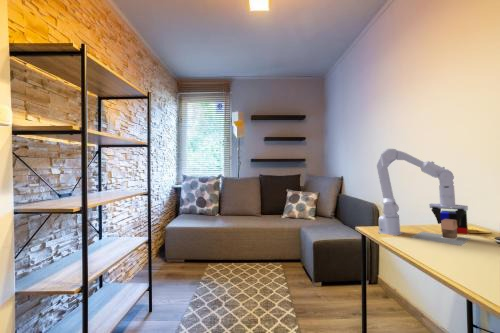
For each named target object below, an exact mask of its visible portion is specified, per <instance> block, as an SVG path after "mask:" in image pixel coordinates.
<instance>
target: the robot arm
mask: <svg viewBox="0 0 500 333" xmlns="http://www.w3.org/2000/svg"><path fill="white" fill-rule="evenodd" d="M394 161H405V162H407V163H409V164H412V165H414V166H416V167H418V168H420V170H421V172H423V173H424V174H427V175H428V176H430V177H432V178H436V179H438V181H439V185H438V189H439V190H438V191H439V193H438V194H439V203H429V204H428V206H429V209H431V212H432V213H433V215H434V217H435V220H436V222H437V224H438V225H439V224H440V225H441V211H442V210H457V211H456V215H457V226H460V225H461V221H462V217H463V215H464V213H465V211H468V210H469V206H468V205H462V204H456V195H455V194H456V193H455V192H456V191H455V185H454V184H455V183H454V182H455V181H454V178H455V175H454V174H453V172H452V171H451V170H450V169H447V168H446V167H445V166H440V165H439V164H435V162H434V161H433V160H432V161H429V160H427V161H423V160H422V159H419V158H417V157H415V156H413V155H411V154H409V153H407V152H406V151H405V152H404V151H401V150H397V149H396V148H387V149H385V150H384V151H383V152H381V154H380V156H379V159H378V161H377V164H376V169H377V173H378V174H377V176H378V179H379V184H380V188H381V189H380V190H381V192H382V198H383V199H382V200H383V201H382V203H383V208H382V212H383V215H380V216H379V217H378V234H383V235H390V236H395V237H396V236H399V235H402V234H404V231H401V223H400V221H401V220H400V215H399V213H398V212H399V208H400V207H399V204H397V202H396V199H395V196H394V193H393V192H394V191H393V188H392V187H393V186H392V183H391V178H390V173H389V169H388V167H389V166H390V165H391V164H392V163H393V162H394Z"/></svg>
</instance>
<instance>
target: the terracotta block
mask: <svg viewBox="0 0 500 333" xmlns="http://www.w3.org/2000/svg"><path fill="white" fill-rule="evenodd" d="M441 224H442V229H446V230H455V229H457V225H456V220H452V219H443V220H441V223H440V225H441Z"/></svg>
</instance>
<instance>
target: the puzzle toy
mask: <svg viewBox="0 0 500 333" xmlns="http://www.w3.org/2000/svg"><path fill="white" fill-rule="evenodd" d="M456 211H457V210H455V209H441V220H443V219H452V220H456V225H457V215H456ZM467 211H468V210H467ZM467 211H465V213H464V215H463V217H462V221H461V225H460V226H457V234H463V235H468V231H467V230H469V228H468V216H467V215H468V214H467V213H468V212H467ZM440 228H441V231H442V224H441V223H440Z"/></svg>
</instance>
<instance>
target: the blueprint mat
mask: <svg viewBox="0 0 500 333" xmlns="http://www.w3.org/2000/svg"><path fill="white" fill-rule="evenodd" d="M409 238H410V239H415V240H422V241H428V242H433V243H440V244H441V243H442V244H445V245H446V244H447V245H454V246H459V247H461V246H463V245H464V244H465V243H467V242H468V241H469V240H471V238H470V237H463V236H457V238H455V239H450V238H443V236H442V234H440V233H434V232H425V231H420V232H418V233H416V234H414V235H413V236H410V237H409Z"/></svg>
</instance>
